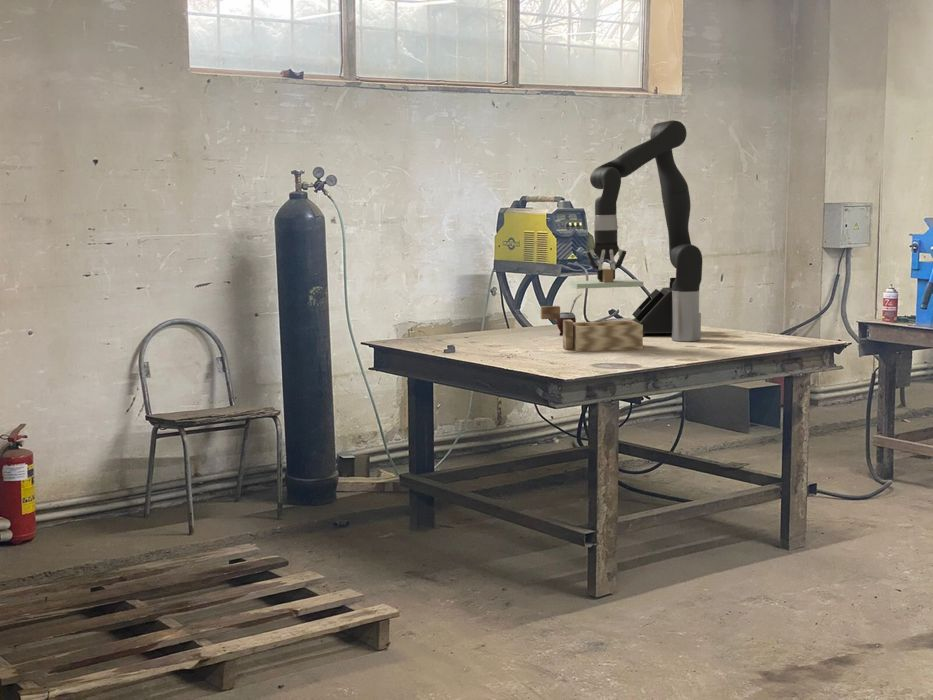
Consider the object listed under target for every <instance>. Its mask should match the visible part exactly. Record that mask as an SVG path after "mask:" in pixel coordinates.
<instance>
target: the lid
mask: <svg viewBox="0 0 933 700" xmlns="http://www.w3.org/2000/svg"><path fill="white" fill-rule="evenodd" d="M602 279H603V281H602V282H600V281H599V280H598V279H597V280H572V281H571V280H570V281H569V286H570V287H573V288H575V289H603V288H604V289H607V288H637V287H642V288H643V287H644V281H643V280H639V279H635V278H634V279H633V278H632V279H630V278H629V279H614V280H613V270H611V269H610V268H602Z"/></svg>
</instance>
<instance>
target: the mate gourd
mask: <svg viewBox="0 0 933 700" xmlns="http://www.w3.org/2000/svg"><path fill="white" fill-rule="evenodd" d="M581 296H582V293H580V294H578V296H576V297H575V299H573V301H572V306H571V308H570V311H569V312H568V311H567V312H560V319H556V325H557V328H558V330H559V336H560V337H563V320H572V321H573V323H577V321H576V320H577V319H576V315H575V313H574V312H573V310H574V306H575V305H576V304H575V303H576V302H577V299H579V298H580V297H581Z"/></svg>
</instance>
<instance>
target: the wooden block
mask: <svg viewBox="0 0 933 700" xmlns="http://www.w3.org/2000/svg"><path fill="white" fill-rule="evenodd" d="M560 313H561V306H560V305H544V306H543V305H540V319H541V320H557V319H560Z"/></svg>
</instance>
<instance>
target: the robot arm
mask: <svg viewBox="0 0 933 700" xmlns="http://www.w3.org/2000/svg"><path fill="white" fill-rule="evenodd" d="M687 135H688V134H687V128H686V126H685V125H684V123H683V122H681V121H679V120H674V119H673V120H667V121H660V122H658V123H655V124H654V125H653V126H652V127H651V130H650V135H649V136H650V139H648V140H647V141H644V142H641V143H640V144H638V145H635V146H634V147H631V148H629V149H628V150H626V151H624V152H623V153H622V154H620V155H619V156H617V157H615V159H612V160H610V161H608V162H605V163H603V164H601V165H599V166H598V167H596V168H595V169H594V170H593V171H592V172H591V174H590V175H589V177H590V178H589V181H590V185H591V186H592V187H593V188H595V189H596V190H602V193H601V196H599V197H597V198H595V200H594V201H595V202H594V222H593V223H594V224H593V226H594V231H593V232H594V235H593V236H594V237H593V238H594V242H593V243H594V246H593V248H592V249H590V250H589V251H588V250H587V251H586V252H585V256H586V257H587V260H588V262H589V265H590V267H591V268H592V269H595V270H596V271H597V273H596V274H597V275H596V277H597V280H599V281H600V282H602V281H603V279H602V269H603V264H604V261H606V260H607V261H608V264H609V269H611V270H613V280H616V270H617V269H620V268H621V267H622V264H623V262H624V259H625V257H626V255H627V251H626V250H623V249H620V247H619V244H618V227H619V225H618V217H617V202H618V197H619V193H620V190H621V184H622V179H623V178H626V177H628V176H629V175H631V174H632V173H635V172H636V171H637V170H638V169H640V168H641V167H643V166H644V165H646V164H647V163H649V162H651V161H652V160H654V159H655V163H656V166H657V173H658V180H659V185H660V192H661V199H662V205H663V210H664V216H665V223H666V228H667V234H668V235H667V236H668V245H669V246H668V250H669V251H668V252H669V253H668V254H669V260H670V261H669V262H670V263H671V265H672V266H673V268H675V277H674V278H675V281H674V282H673V284H672V290H673V291H672V333H671V340H672V341H675V342H696V341H698V342H699V341H701V339H702V338H701V337H702V335H701V333H702V329H701V328H702V326H701V325H702V324H701V323H702V314H701V312H700V285H701V283H702V279H703V278H702V277H703V276H702V275H703V254H702V252H701V249H700V248H699V247H697V246H696V245H694V244H692V242H691V237H690V231H689V223H690V215H691V197H690V190H689V186H688V183H687V181H686V179H685V177H684V176H683V174H682V172H681V171H680V169H679V168H678V166H677V165H676V162H675V159H674V153H673V149H675V148H679V147H680V146H681V145H683V144H684V142H685V141H686V138H687ZM594 254H595V256H596V257H597V264H596V262H595V260H594V258H593V257H594ZM617 254H618V259H617V261H616V263H615V256H616V255H617Z"/></svg>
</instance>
